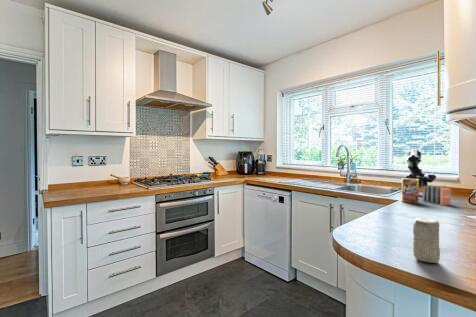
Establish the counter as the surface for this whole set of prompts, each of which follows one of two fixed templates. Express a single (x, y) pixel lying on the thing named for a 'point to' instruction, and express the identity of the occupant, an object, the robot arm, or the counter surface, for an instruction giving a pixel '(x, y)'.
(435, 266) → the counter surface
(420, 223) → the carving
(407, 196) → the candy box
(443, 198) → the end domino
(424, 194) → the domino
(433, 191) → the domino
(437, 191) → the domino
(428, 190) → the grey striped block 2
